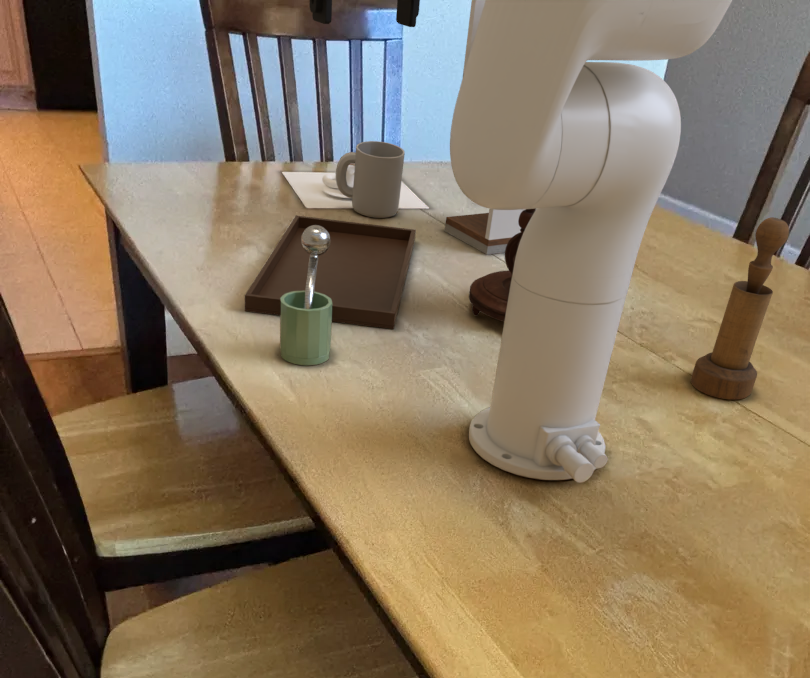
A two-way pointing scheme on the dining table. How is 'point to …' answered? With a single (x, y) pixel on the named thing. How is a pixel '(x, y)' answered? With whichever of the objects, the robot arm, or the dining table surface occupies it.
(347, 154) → the cup
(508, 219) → the white shelf tower
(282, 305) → the tumbler
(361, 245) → the tray
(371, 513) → the dining table surface
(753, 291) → the mortar and pestle
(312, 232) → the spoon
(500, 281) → the dark brown wooden piece
